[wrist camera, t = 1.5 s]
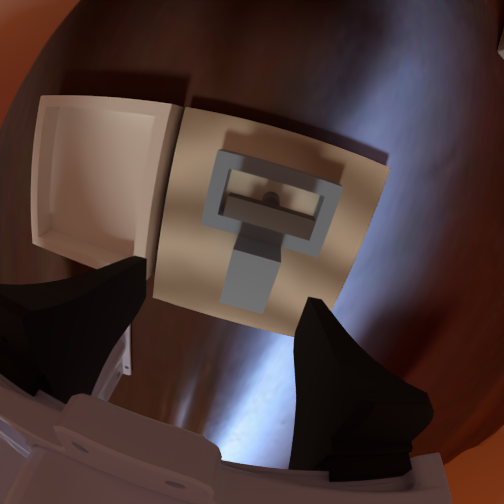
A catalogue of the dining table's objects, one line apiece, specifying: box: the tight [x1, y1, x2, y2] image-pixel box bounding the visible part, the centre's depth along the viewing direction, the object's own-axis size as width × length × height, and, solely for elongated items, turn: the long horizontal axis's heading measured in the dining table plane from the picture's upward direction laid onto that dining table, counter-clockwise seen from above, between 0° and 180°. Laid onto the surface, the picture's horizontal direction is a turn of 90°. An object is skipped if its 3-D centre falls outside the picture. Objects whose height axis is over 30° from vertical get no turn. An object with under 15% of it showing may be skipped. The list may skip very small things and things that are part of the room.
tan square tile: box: [153, 107, 390, 337], centre depth 19 cm, size 16×15×6 cm
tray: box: [31, 95, 183, 281], centre depth 20 cm, size 14×13×2 cm
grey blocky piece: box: [201, 149, 344, 314], centre depth 19 cm, size 9×8×4 cm
